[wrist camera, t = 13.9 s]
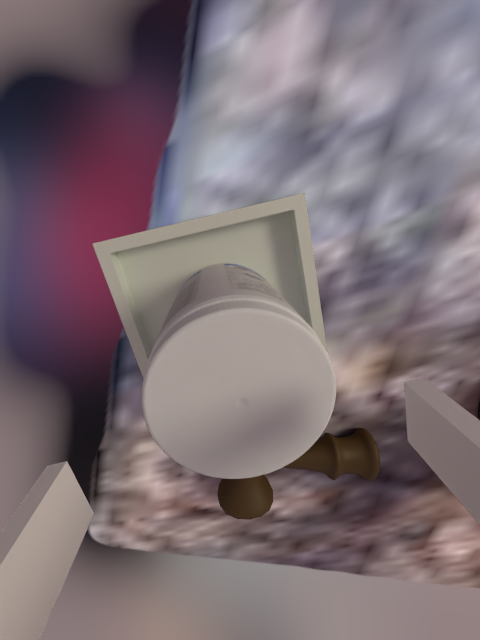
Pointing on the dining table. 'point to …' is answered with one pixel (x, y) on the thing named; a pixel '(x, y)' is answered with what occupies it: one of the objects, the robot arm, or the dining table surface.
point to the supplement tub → (236, 377)
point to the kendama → (323, 456)
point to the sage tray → (208, 249)
